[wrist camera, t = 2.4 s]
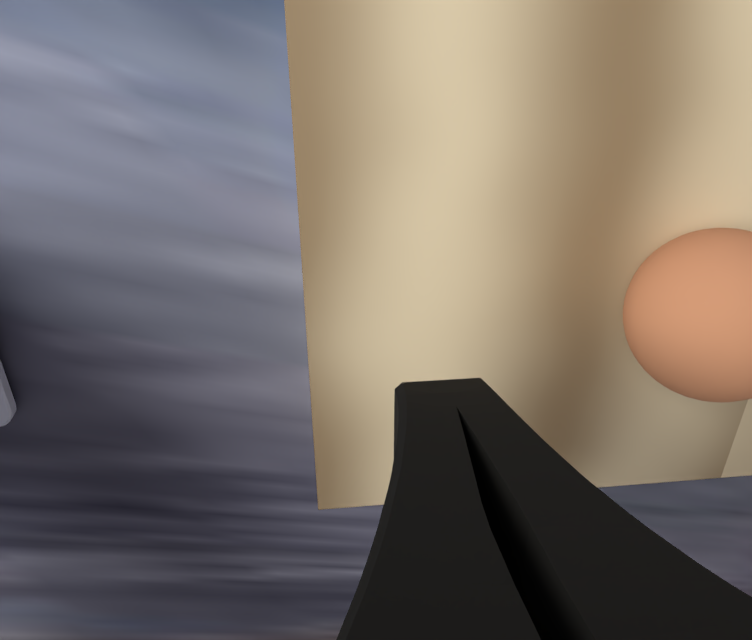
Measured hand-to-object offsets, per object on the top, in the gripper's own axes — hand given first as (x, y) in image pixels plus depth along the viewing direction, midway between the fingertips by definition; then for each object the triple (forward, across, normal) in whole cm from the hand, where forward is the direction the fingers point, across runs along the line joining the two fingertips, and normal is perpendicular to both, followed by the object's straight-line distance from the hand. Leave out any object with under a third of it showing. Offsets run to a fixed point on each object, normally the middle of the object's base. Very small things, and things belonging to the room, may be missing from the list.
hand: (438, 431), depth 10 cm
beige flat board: (+7, -7, 0) cm, 10 cm away
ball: (+3, -6, 0) cm, 7 cm away
